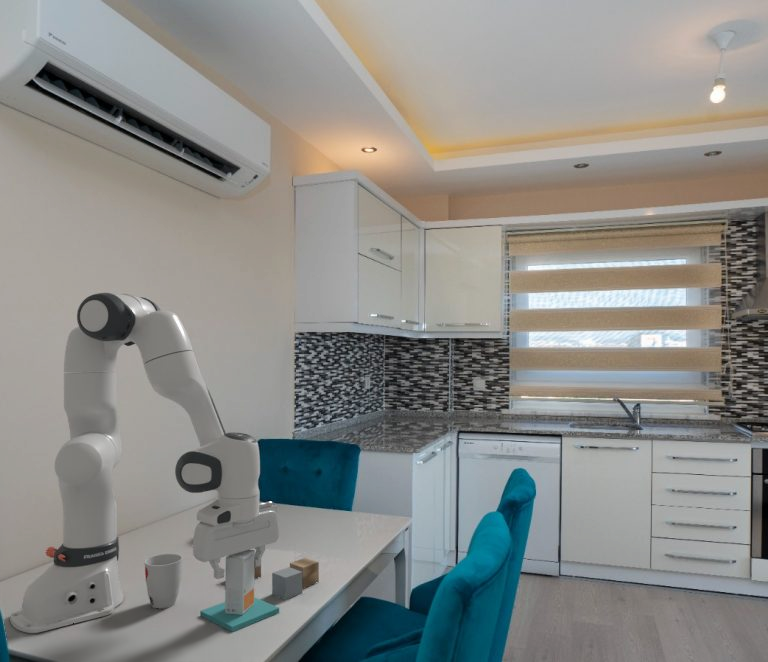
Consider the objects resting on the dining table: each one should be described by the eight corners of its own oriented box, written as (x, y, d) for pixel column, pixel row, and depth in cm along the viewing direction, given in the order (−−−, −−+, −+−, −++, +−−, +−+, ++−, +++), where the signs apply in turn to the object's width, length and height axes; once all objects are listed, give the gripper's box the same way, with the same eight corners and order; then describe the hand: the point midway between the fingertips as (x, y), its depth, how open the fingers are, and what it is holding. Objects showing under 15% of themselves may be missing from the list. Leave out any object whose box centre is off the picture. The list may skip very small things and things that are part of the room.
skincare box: (243, 615, 127) (243, 558, 127) (224, 614, 128) (224, 557, 128) (255, 604, 133) (255, 549, 133) (237, 602, 134) (237, 548, 134)
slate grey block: (285, 599, 138) (285, 577, 138) (272, 594, 141) (272, 572, 141) (302, 593, 141) (302, 571, 142) (289, 588, 145) (288, 567, 145)
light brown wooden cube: (303, 588, 144) (303, 567, 144) (290, 583, 148) (289, 563, 148) (318, 582, 148) (318, 562, 148) (305, 577, 151) (305, 557, 152)
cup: (153, 596, 140) (153, 553, 141) (187, 596, 140) (187, 553, 140) (138, 611, 132) (138, 565, 133) (174, 611, 132) (174, 565, 132)
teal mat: (232, 631, 122) (232, 626, 122) (200, 615, 130) (200, 610, 130) (279, 612, 131) (279, 607, 131) (246, 598, 139) (246, 594, 139)
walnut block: (244, 583, 148) (244, 562, 148) (232, 578, 152) (232, 558, 152) (261, 577, 152) (260, 557, 152) (249, 572, 155) (249, 553, 156)
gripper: (268, 497, 141) (267, 557, 140) (189, 513, 126) (188, 580, 125) (285, 501, 137) (284, 563, 136) (206, 519, 122) (204, 588, 121)
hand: (237, 571), depth 131 cm, fingers open, 8 cm apart
